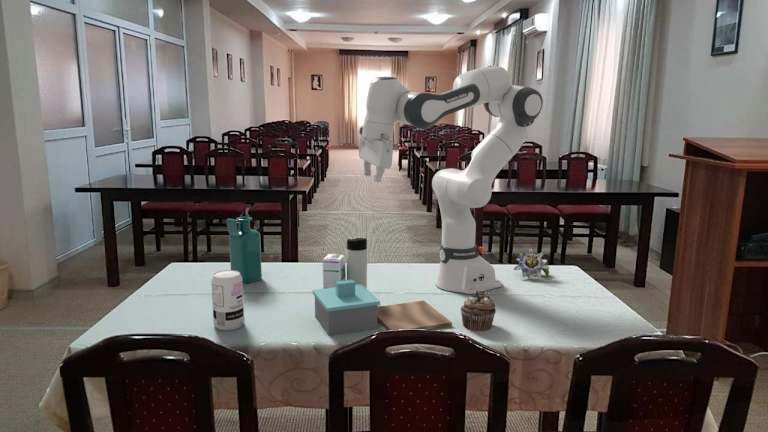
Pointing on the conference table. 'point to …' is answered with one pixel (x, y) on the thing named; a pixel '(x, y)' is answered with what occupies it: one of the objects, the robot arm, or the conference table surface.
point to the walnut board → (411, 316)
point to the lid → (345, 296)
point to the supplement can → (227, 300)
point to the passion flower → (531, 264)
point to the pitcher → (244, 249)
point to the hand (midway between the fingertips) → (372, 178)
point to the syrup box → (333, 270)
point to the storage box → (346, 319)
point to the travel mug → (357, 261)
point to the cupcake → (478, 312)
